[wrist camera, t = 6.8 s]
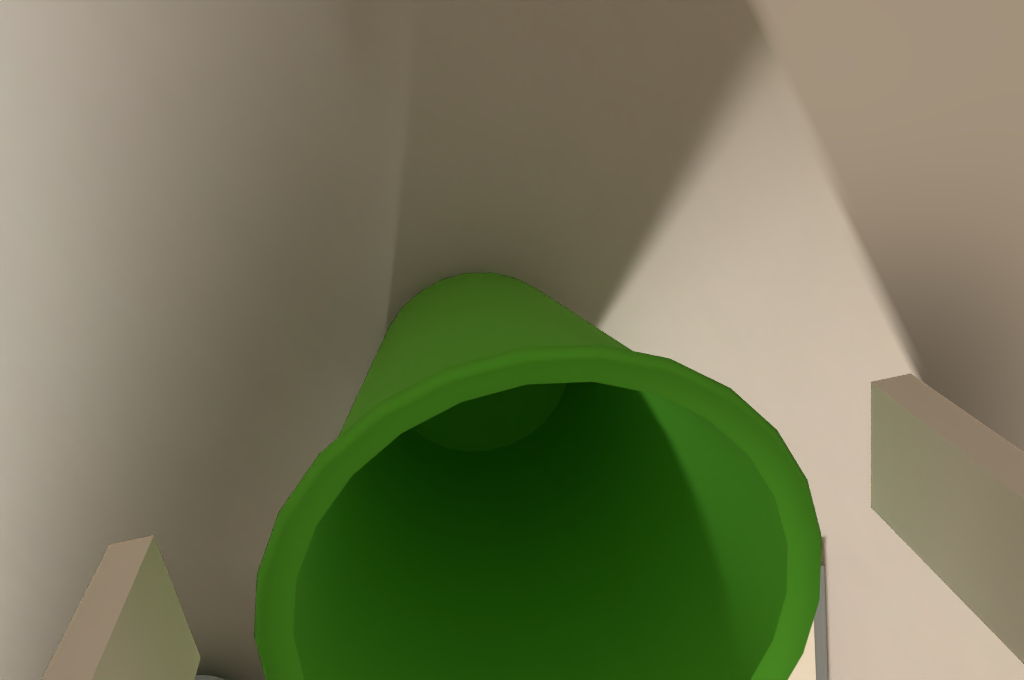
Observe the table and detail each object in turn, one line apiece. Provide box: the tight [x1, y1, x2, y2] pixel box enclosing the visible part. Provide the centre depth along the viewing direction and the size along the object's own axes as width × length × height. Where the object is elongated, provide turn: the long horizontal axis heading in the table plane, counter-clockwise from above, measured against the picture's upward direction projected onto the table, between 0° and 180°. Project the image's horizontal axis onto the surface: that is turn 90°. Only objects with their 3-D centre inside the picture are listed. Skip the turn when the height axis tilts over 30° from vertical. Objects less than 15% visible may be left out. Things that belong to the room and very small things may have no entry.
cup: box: [254, 273, 822, 680], centre depth 18 cm, size 9×9×11 cm
